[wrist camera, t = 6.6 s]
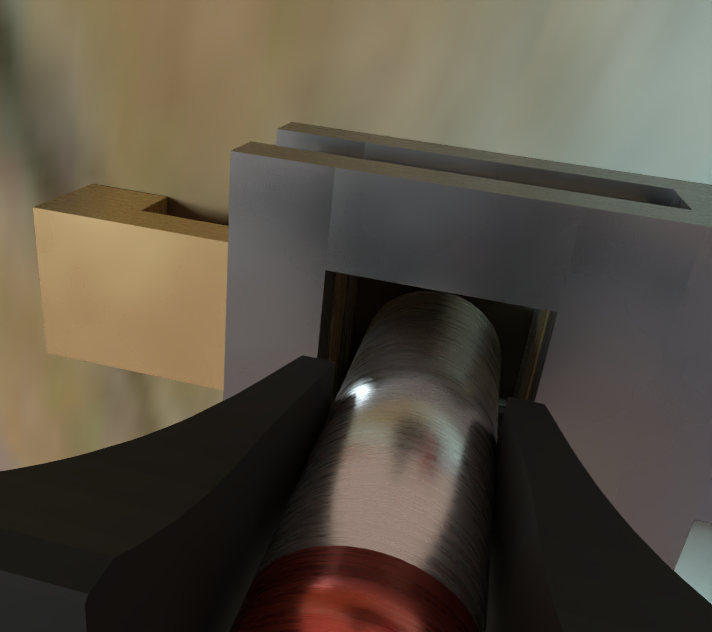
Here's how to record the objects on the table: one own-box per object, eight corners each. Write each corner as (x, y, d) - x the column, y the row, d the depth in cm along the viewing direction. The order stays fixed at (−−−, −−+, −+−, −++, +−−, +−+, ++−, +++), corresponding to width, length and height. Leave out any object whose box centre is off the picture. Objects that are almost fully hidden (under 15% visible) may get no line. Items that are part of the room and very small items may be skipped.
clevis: (874, 209, 13) (986, 270, 10) (734, 522, 17) (786, 642, 14) (86, 91, 16) (-22, 110, 13) (103, 384, 19) (20, 458, 16)
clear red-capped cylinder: (527, 379, 15) (533, 832, 7) (410, 430, 16) (300, 867, 8) (454, 265, 14) (367, 626, 6) (338, 329, 15) (138, 697, 7)
